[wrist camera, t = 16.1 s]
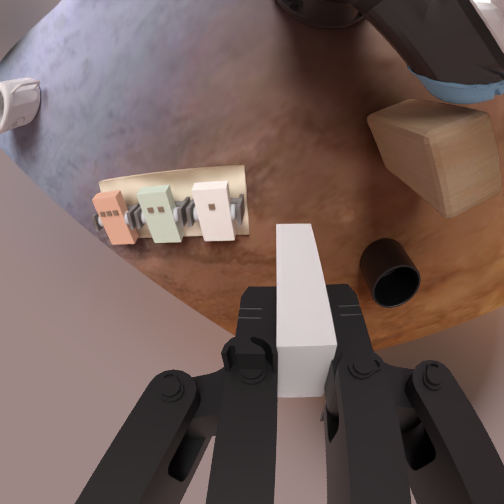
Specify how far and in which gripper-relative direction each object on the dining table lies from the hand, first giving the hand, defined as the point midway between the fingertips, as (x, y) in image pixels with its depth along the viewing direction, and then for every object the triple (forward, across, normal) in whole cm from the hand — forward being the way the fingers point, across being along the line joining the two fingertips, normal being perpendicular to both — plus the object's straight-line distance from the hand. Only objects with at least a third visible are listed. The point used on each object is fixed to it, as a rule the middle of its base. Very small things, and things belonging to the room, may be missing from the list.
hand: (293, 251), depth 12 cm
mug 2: (+33, +21, -23) cm, 45 cm away
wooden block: (+33, +20, +2) cm, 38 cm away
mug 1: (+33, -49, +18) cm, 62 cm away
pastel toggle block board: (+32, -19, -10) cm, 39 cm away
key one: (+29, -10, -10) cm, 32 cm away
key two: (+29, -19, -10) cm, 36 cm away
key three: (+29, -28, -10) cm, 41 cm away
